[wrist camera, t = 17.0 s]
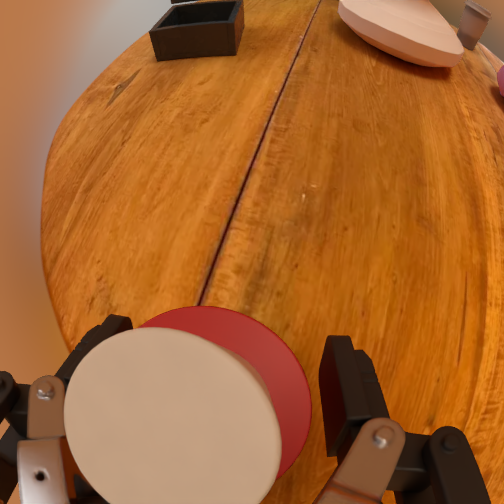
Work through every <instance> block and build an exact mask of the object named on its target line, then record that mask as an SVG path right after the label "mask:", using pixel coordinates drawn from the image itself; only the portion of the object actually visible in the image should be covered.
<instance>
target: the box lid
mask: <svg viewBox="0 0 504 504" xmlns="http://www.w3.org/2000/svg"><path fill="white" fill-rule="evenodd" d="M189 1H198V0H171V4H174V3H182V2H189Z"/></svg>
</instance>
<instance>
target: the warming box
mask: <svg viewBox="0 0 504 504" xmlns="http://www.w3.org/2000/svg"><path fill="white" fill-rule="evenodd" d="M243 29H244V7H243V0H222V1H209V2H198V3H190V4H182V5H175V6H172V7H171V8H170V9H169V10H168V11H167V13H165V14H164V16H163V17H162V18H161V19H160V20H159V21H158V22H157V23H156V24H155V25H154V27H153V28H152V29H151V30H150V31H149V34H150V38H151V42H152V45H153V49H154V52H155V56H156V59H157V61H163V60H171V59H180V58H191V57H204V56H226V55H236V54H237V51H238V47H239V43H240V40H241V36H242V33H243Z"/></svg>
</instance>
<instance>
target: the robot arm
mask: <svg viewBox="0 0 504 504" xmlns="http://www.w3.org/2000/svg"><path fill="white" fill-rule="evenodd" d="M132 329H133V326H132V322H131V319H130V318H129V317H125V316H119V315H113V314H110V315H109V316H108V317H107V318H106V319H105V321H104V322H103V323H102V325H97V326H95V327H94V328H92V329H91V330H89V331H88V332H87V333H86V334H85V336H84V337H83V338H82V339H81V342H79V343H78V345H77V346H76V347H75V350H73V351H72V352H71V354H70V355H69V356H68V358H67V359H66V361H65V362H64V363H63V365H62V366H61V367H60V369H59V370H58V371H57V373H56V374H55V375H54V376H51V375H48V376H43V377H40V378H38V379H37V380H36V381H34V382H33V384H32V385H28V384H17V383H16V382H15V380H14V379H13V377H12V375H11V374H10V373H8V372H6V371H0V424H1V422H2V421H3V419H4V418H5V419H6V420H7V421H8V423H9V424H10V426H9V428H8V429H7V430H6V432H5V434H4V435H3V436H2V438H1V440H0V504H7V502H8V500H9V498H10V496H11V494H12V492H13V490H14V489H15V487H16V485H17V483H18V484H19V494H20V502H21V504H110V503H109V502H107V501H106V500H105V499H104V498H103V497H102V496H101V495H100V494H99V493H98V492H97V491H96V490H95V489H94V488H93V487H92V486H91V484H90V483H89V482H88V481H87V479H86V478H85V476H84V475H83V474H82V472H81V470H80V469H79V467H78V465H77V463H76V461H75V459H74V457H73V455H72V452H71V450H70V447H69V444H68V440H67V437H66V432H65V425H64V402H65V396H66V392H67V388H68V385H69V382H70V379H71V377H72V375H73V373H74V371H75V369H76V368H77V366H78V365H79V363H80V362H81V361H82V359H83V358H84V357H85V356H86V355H87V354H88V353H89V352H90V351H91V350H92V349H93V348H94V347H96V346H97V345H98V344H100V343H101V342H103V341H104V340H106V339H108V338H110V337H112V336H114V335H116V334H119V333H121V332H124V331H127V330H132ZM319 388H320V396H321V404H322V412H323V421H324V431H325V440H326V450H327V457H333V456H337V462H338V466H337V467H336V469H335V470H334V472H333V473H332V475H331V477H330V478H329V480H328V481H327V483H326V484H325V486H324V487H323V489H322V490H321V492H320V493H319V494H318V496H317V497H316V499H315V500H314V502H313V503H312V504H383V503H382V502H381V499H382V496H383V494H384V492H385V490H392V491H394V495H395V499H396V504H491V501H490V498H489V495H488V492H487V489H486V486H485V484H484V481H483V478H482V475H481V473H480V470H479V467H478V465H477V462H476V460H475V457H474V455H473V452H472V450H471V448H470V445H469V443H468V441H467V438H466V436H465V435H464V434H463V432H462V431H460V430H459V429H457V428H455V427H452V426H444V427H441V428H439V429H437V430H436V431H435V432H434V433H433V434H432V435H422V434H413V433H408V432H405V431H404V430H403V428H402V427H401V426H400V425H399V424H398V423H397V422H395V421H394V420H391V419H390V416H389V413H388V410H387V406H386V403H385V400H384V397H383V393H382V390H381V387H380V384H379V382H378V378H377V375H376V373H375V369H374V366H373V363H372V360H371V359H370V358H369V356H368V355H367V354H366V353H365V352H364V351H363V350H354V348H353V344H352V341H351V338H350V336H336V335H329V336H328V337H327V339H326V343H325V347H324V351H323V355H322V359H321V363H320V367H319Z"/></svg>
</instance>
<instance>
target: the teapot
mask: <svg viewBox="0 0 504 504" xmlns="http://www.w3.org/2000/svg"><path fill="white" fill-rule="evenodd" d="M497 80H498V85H499V89H500V94H501V95H502V96H503V97H504V65H503V66H502V67H501V69H500V70H499V72H498V73H497Z"/></svg>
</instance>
